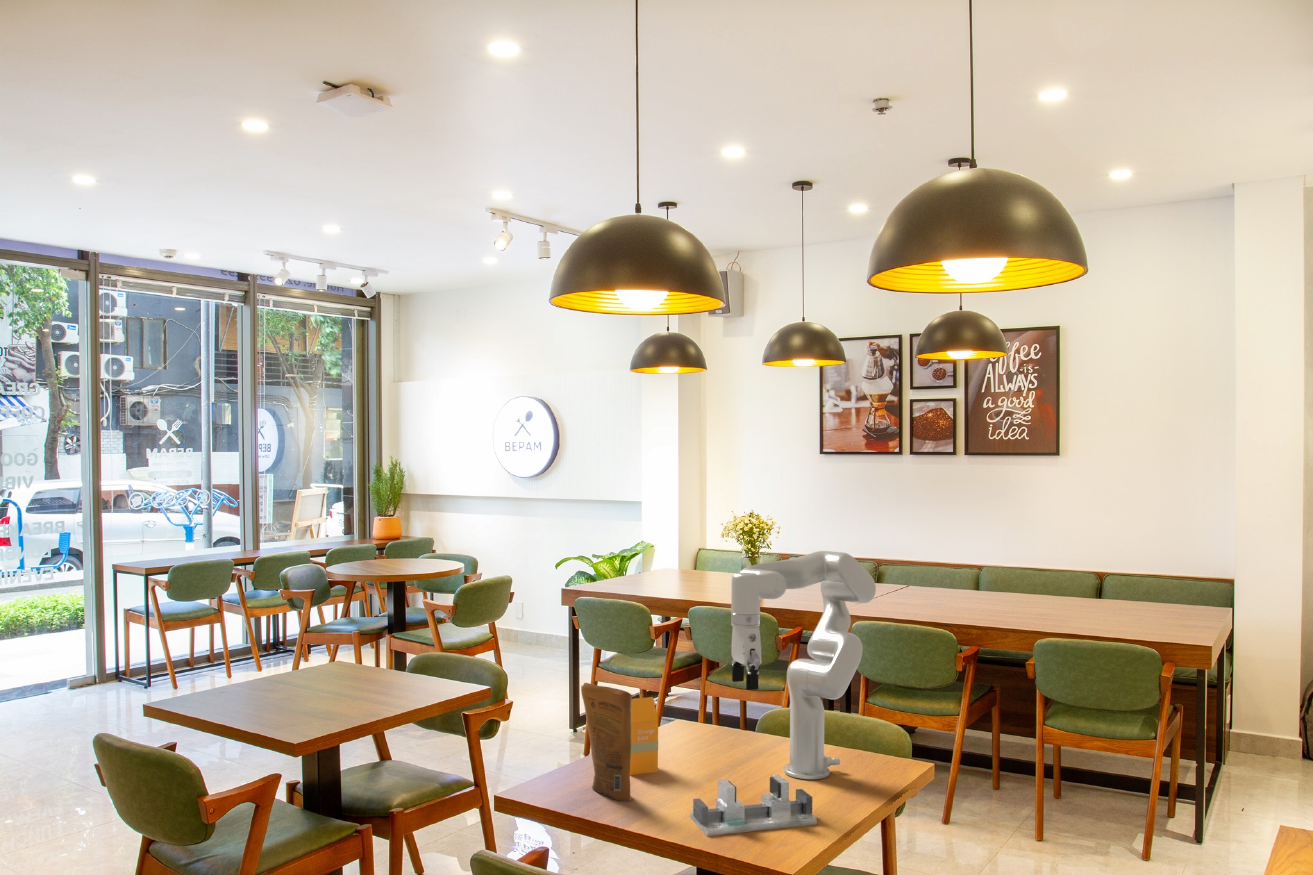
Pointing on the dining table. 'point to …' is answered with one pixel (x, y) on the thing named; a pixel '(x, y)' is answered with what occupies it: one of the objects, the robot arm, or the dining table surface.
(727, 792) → the notched grey block
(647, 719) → the orange juice
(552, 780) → the dining table surface
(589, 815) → the dining table surface
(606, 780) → the pancake mix bag
